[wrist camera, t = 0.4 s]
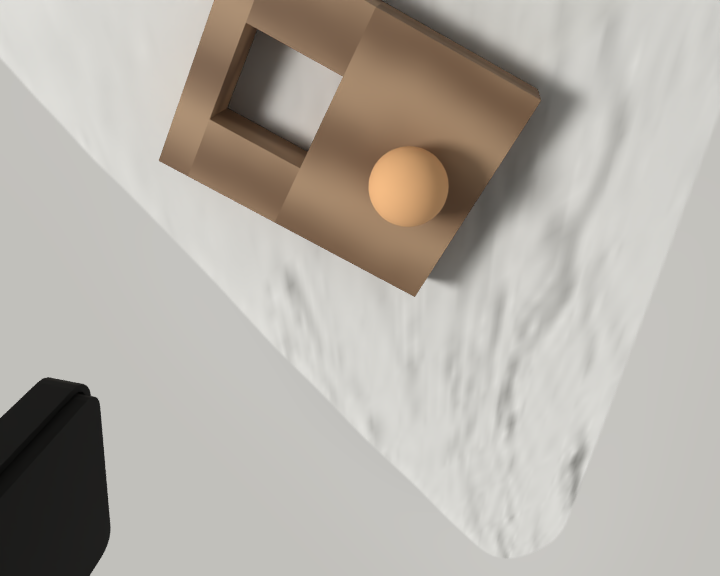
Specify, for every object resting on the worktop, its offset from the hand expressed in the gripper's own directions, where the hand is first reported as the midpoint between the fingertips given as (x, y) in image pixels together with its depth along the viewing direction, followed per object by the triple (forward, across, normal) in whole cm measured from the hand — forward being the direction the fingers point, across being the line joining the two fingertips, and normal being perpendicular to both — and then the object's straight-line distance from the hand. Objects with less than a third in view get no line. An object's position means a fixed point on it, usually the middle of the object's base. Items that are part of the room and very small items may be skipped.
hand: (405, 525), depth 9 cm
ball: (+28, +2, +4) cm, 29 cm away
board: (+33, +7, +2) cm, 34 cm away
